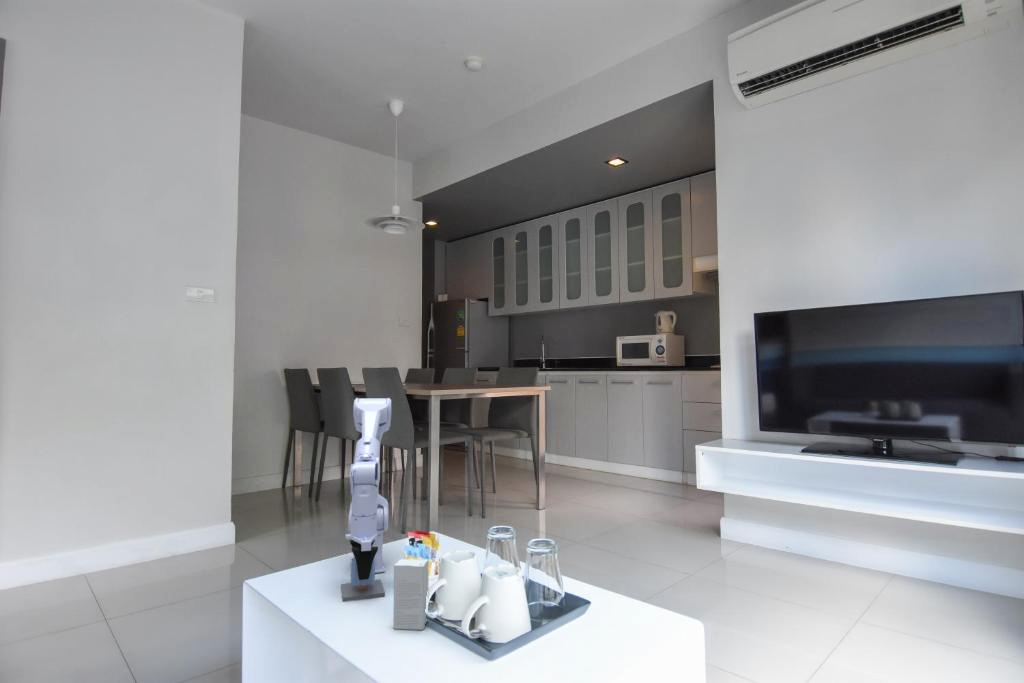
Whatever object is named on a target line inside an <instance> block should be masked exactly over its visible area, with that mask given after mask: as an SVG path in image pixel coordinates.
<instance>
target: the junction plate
mask: <svg viewBox="0 0 1024 683" xmlns="http://www.w3.org/2000/svg"><path fill="white" fill-rule="evenodd" d="M340 590H341V591H340V593H341V599H342V602H350V601H351V602H352V601H357V600H366V599H374V598H375V599H376V598H383V597H386V591H385V589H384V586H383V583H382V580H381V579H375V581H374V582H373V583H371V584H368V585H353V584H351V582H346V583H341V584H340Z"/></svg>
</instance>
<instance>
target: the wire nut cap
mask: <svg viewBox="0 0 1024 683" xmlns="http://www.w3.org/2000/svg"><path fill="white" fill-rule="evenodd" d="M350 563H351V565H350V583H351V584H353V585H368V584H371V583H373V582H374V581H375V580H376V573H375V557H374V559H373V563H372V567H371V572H370V576H369V579H365V580H359V577H358V571H357V563H356V559H355V557H354V558H353V557H352V558H351V561H350Z"/></svg>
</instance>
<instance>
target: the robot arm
mask: <svg viewBox="0 0 1024 683" xmlns="http://www.w3.org/2000/svg"><path fill="white" fill-rule="evenodd" d="M353 401H354V402H353V410H352V411H353V412H352V413H353V422H354V423H353V424H354V427H355V431H357V432H359V433H361V438H360V439H358V440H357V441H356V443H355V444H356V445H355V453H354V457H353V458H354V460H353V463H351V465H350V470H349V471H350V472H349V483H350V495H351V501H350V504H349V505H350V506H349V512H348V522H347V524H348V525H347V529H348V532H349V533H346V534H345V540H349V543H350V545H351V553H352V554H353V556H352V558H354V557H355V559H356V563H357V571H358V577H359V580H365V579H369V576H370V572H371V567H372V563H373V559H374V557H375V574H380V573H385V572H386V567H385V566H384V563H383V550H384V549H383V545H384V544H383V543H384V541H383V540H384V539H383V538H384V537H383V536H384V533H385V532H387V531H388V530H389V517H390V516H389V511H390V510H389V502H388V500H387V498H385V497H383V496H382V495H381V494H379V484H380V480H381V464H380V462H381V461H380V459H381V458H380V456H381V455H380V454H381V442H382V441H381V440H382V438H383V435H384V433H386V432H388V431H389V430H390V427H391V423H392V422H391V421H392V420H391V419H392V399H391V398H390V397H387V398H386V397H385V398H378V397H377V398H374V397H373V398H369V397H368V398H363V397H362V398H359V397H355V399H354V400H353ZM349 566H351V562H350V565H349Z"/></svg>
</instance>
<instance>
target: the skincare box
mask: <svg viewBox="0 0 1024 683" xmlns="http://www.w3.org/2000/svg"><path fill="white" fill-rule="evenodd" d="M429 565H430V564H429V559H415V558H413V559H410V558H409V559H408V558H407V559H406V558H400V559H399V560H398V561H397V562H396V563H395V564H394V565H393V622H392V623H393V625H392V626H393V627H392V628H393V630H417V631H423V630H424V629H425V628H426V626H425V618H426V613H425V609H426V596H427V591H428V592H429Z"/></svg>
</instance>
